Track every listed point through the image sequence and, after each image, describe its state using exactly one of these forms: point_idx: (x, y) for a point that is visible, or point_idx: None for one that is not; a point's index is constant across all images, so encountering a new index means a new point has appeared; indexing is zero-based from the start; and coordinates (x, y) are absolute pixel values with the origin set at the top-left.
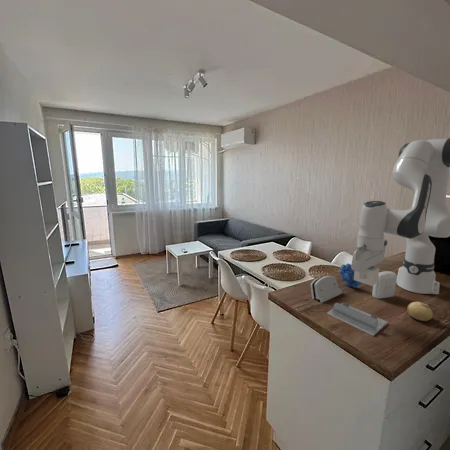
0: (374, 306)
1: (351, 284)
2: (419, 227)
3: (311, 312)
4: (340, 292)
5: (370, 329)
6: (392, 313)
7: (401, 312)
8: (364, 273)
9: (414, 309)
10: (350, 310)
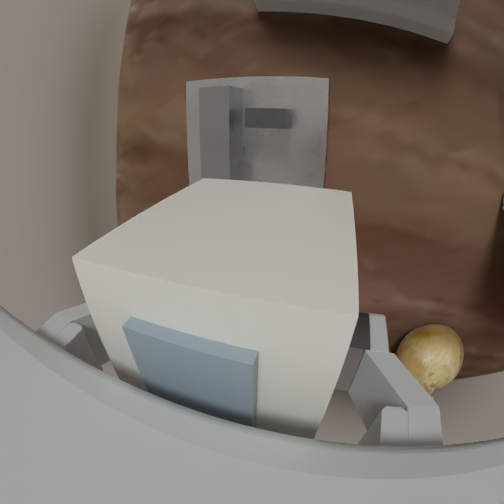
0: (427, 208)
1: None
2: None
3: (153, 45)
4: (435, 34)
5: None
6: (409, 277)
7: (436, 299)
8: (105, 352)
9: (406, 362)
10: (210, 170)
